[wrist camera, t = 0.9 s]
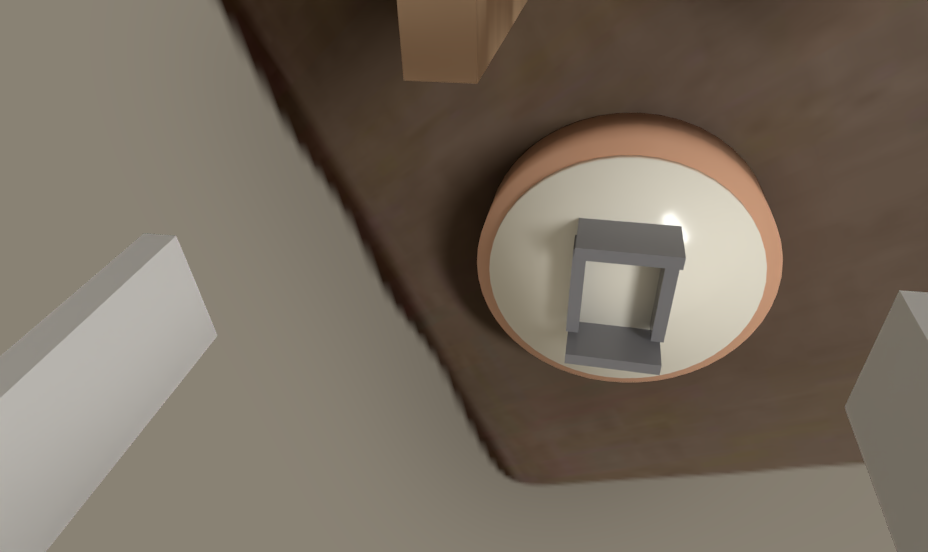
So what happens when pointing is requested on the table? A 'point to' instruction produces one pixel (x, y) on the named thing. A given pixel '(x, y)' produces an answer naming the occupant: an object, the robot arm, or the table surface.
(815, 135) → the table surface
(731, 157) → the peach disc
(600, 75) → the table surface
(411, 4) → the tall wooden post
